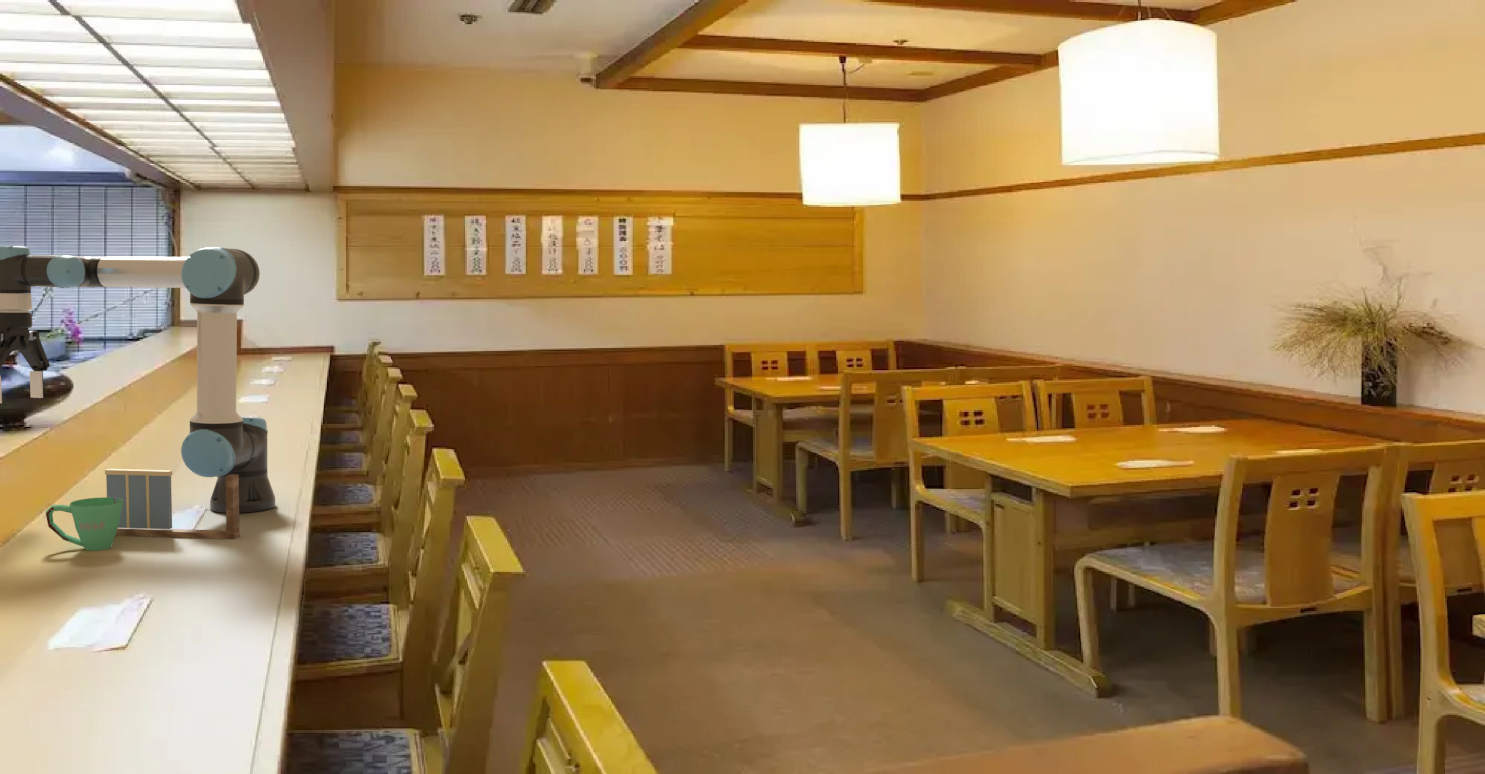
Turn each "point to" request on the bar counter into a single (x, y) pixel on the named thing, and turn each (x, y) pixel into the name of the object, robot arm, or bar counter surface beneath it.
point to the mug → (90, 521)
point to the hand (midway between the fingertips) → (16, 400)
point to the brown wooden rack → (229, 533)
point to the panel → (142, 497)
